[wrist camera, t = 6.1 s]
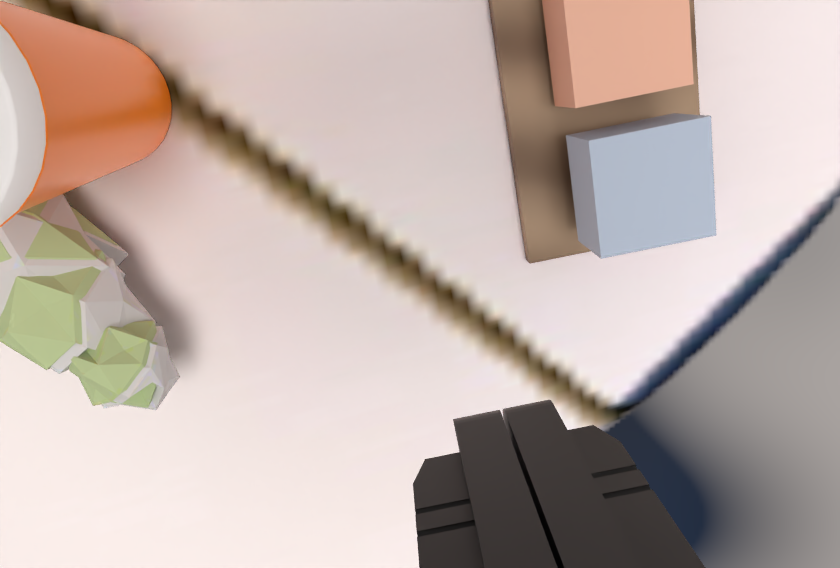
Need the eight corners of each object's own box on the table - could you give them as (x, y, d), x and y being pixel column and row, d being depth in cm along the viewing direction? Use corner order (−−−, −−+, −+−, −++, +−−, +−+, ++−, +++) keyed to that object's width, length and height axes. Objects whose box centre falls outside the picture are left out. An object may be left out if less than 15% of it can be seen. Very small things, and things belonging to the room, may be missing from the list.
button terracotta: (540, -10, 33) (561, -23, 29) (652, -33, 33) (686, -48, 29) (554, 106, 34) (575, 108, 31) (660, 84, 34) (693, 84, 31)
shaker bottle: (187, 24, 34) (-65, -60, 15) (191, 187, 36) (-20, 294, 17) (17, 7, 33) (-481, -105, 14) (33, 174, 36) (-368, 272, 17)
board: (461, -185, 32) (469, -212, 29) (672, -228, 32) (701, -259, 29) (526, 259, 39) (537, 272, 36) (697, 224, 39) (722, 235, 36)
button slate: (565, 135, 33) (588, 140, 30) (674, 113, 33) (710, 115, 30) (578, 240, 35) (601, 258, 32) (681, 219, 35) (716, 235, 32)
